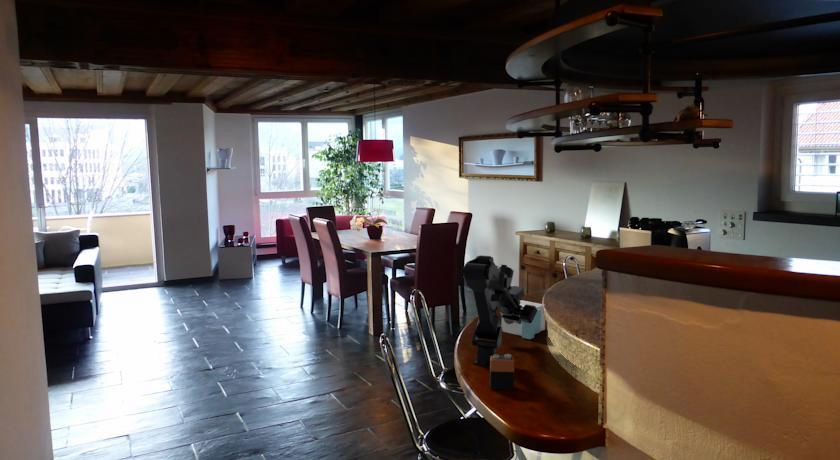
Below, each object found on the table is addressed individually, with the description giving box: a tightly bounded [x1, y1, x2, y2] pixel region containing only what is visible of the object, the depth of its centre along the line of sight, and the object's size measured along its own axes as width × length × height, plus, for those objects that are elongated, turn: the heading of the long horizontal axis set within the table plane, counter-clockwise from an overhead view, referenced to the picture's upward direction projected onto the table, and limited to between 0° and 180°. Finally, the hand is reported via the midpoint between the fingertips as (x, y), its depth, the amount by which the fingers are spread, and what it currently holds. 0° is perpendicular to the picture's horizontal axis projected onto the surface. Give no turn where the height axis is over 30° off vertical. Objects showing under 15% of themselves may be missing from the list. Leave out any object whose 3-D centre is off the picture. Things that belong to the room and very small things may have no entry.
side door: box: [521, 309, 541, 340], centre depth 232 cm, size 11×4×9 cm, turn 137°
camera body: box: [500, 299, 546, 337], centre depth 240 cm, size 15×11×10 cm
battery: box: [489, 353, 515, 391], centre depth 179 cm, size 4×7×10 cm, turn 87°
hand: (520, 322), depth 225 cm, fingers closed
